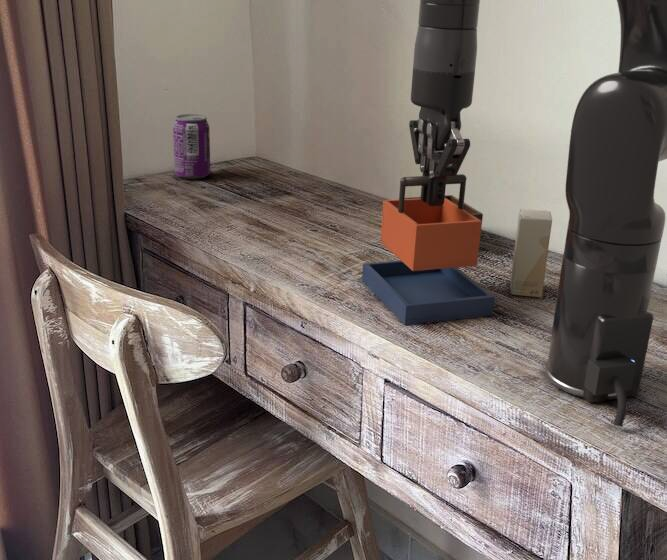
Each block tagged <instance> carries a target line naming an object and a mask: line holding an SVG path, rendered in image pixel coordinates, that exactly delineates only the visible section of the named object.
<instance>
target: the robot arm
mask: <svg viewBox="0 0 667 560" xmlns="http://www.w3.org/2000/svg"><path fill="white" fill-rule="evenodd" d="M616 3H617V8H618V15H619V24H620V43H619V44H620V45H619V46H620V47H619V59H618V60H619V61H618V71H617V72H614V73H609V74H606V75H604V76H601V77H599V78H598V79H596V80H594V81H593V82H592V83H591V84H590V85H588V87H586V88H585V90H584V92H583V93H582V95H581V97H580V98H579V100H578V103H577V105H576V107H575V112H574V114H573V117H572V123H571V127H570V137H569V147H568V157H567V166H566V177H565V189H564V191H565V199H566V205H567V208H568V213H569V214H568V223H567V228H566V236H565V241H564V248H563V255H562V260H561V261H562V263H561V269H560V275H559V281H558V288H557V295H556V301H555V309H554V316H553V322H552V327H551V328H552V329H551V334H550V341H549V342H550V343H549V350H548V358H547V361H546V364H545V368H544V369H545V370H544V374H545V377H546V378H547V380H548V381H549V382H550V383H551V384H552V386H554V387H556V388H557V389H559V390H561V391H563V392H565V393H568V394H570V395H572V396H573V395H574V396H576V397H579V398H582V399H584V400H585V401H587V402H588V403H599V402H604V401H611V400H617V410H616V414H615V418H614V422H613V425H614V426H617V427H623V424H624V421H625V418H626V414H627V398H630V397H631V398H632V397H636V396H639V392H640V387H641V381H642V377H643V373H644V366H645V361H646V356H647V351H648V347H649V342H650V336H651V331H652V326H653V323H654V314H653V313H652V312H650V311H649V310H648V309H649V306H650V300H651V294H652V289H653V284H654V278H655V273H656V269H657V264H658V258H659V255H660V250H661V245H662V244H661V243H662V239H663V235H664V230H665V224H666V212H665V210H664V208H663V207H662V206H661V205H660V204H659V203H656V202H655V189H656V181H657V173H658V168H659V167H658V166H659V162H661V161H662V162H663V161H665V160H667V0H616ZM480 4H481V0H419V9H418V23H417V24H418V26H417V32H416V36H415V42H414V48H413V60H412V61H413V64H412V73H411V75H412V76H411V77H412V78H411V89H410V102H411V103H412V104H413V105H415V106H417V107H420V109H419V113H418V119H414V120H413V119H412V120H409V123H408V127H409V134H410V140H411V145H412V151H413V158H414V164H415V165H419V171H420V173H422V175H421V176H430V177H428V185H425V186H421V188H420V197H421V200H422V201H423V202H426V203H427V204H428V205H429V206H442V205H443V204H444V199H445V195H446V188H447V187H446V186H447V184H446V179H447V177H450V176H456V175H457V174H458V172H459V171H460V169H461V166H462V164H463V162H464V160H465V158H466V156H467V155H468V152H469V150H470V147H471V140H470V138H463V136H462V135H461V130H462V119H461V112H462V110H464V109H467V108H469V107H471V105H472V104H473V94H474V86H475V75H476V64H477V55H478V26H479V25H478V24H479V15H480V14H479V13H480Z"/></svg>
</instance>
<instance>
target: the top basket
mask: <svg viewBox="0 0 667 560" xmlns="http://www.w3.org/2000/svg"><path fill="white" fill-rule="evenodd" d="M428 177H430V176H422V175H417V176H403V177H401V178H400V181H399V194H398V195H399V196H398V199H384V200H382V215H381V228H380V229H381V231H380V243H381V245H382V246H384V247H385V248H386V249H387V250H388V251H390V252H391V254H393V255H394V256H395V257H396V258H397V259H398V260H401V261H402V262H403V263H404V264H405V265H407V266H408V267H409V268H410V269H411V270H412V271H420V270H431V269H443V268H454V267H457V268H463V267H464V268H465V267H477V266H478V262H479V261H478V259H479V252H480V246H479V243H480V244H481V237H480V234H481V235H482V228H481V226H483V220H482V221H481V220H479V219H478V218H476V217H475V216H473V215H471V214H470V213H468V212H467V211H465V210H464V209H463V206H464V203H465V196H466V186H467V176H466V175H465V174H464V173H459V174H458V173H457V175H456V176H450V177H447V179H446V185H459V194H458V199H459V202H458V206H457V205H456V204H454V203H453V202H451V201H450V200H448V199H446V198H445V199H444V204H443V205H442V206H429V205H428V204H427V203H426V202H423V201H422V200H421V198H416V199H405V198H406V188H407V187H420V186H421V187H422V186H425V185H428Z"/></svg>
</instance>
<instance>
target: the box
mask: <svg viewBox="0 0 667 560" xmlns="http://www.w3.org/2000/svg"><path fill="white" fill-rule="evenodd" d="M552 225H553V217H552V212H551V211H548V210H540V209H533V208H531V209H530V208H520V209H518V217H517V225H516V233H515V241H514V242H515V243H514V249H513V258H512V267H511V274H510V283H509V286H510V287H509V288H510V290H509V291H510V295H514V296H523V297H533V298H542V297H543V291H544V283H545V276H546V269H547V261H548V254H549V248H550V247H549V246H550V240H551V232H552Z"/></svg>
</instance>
